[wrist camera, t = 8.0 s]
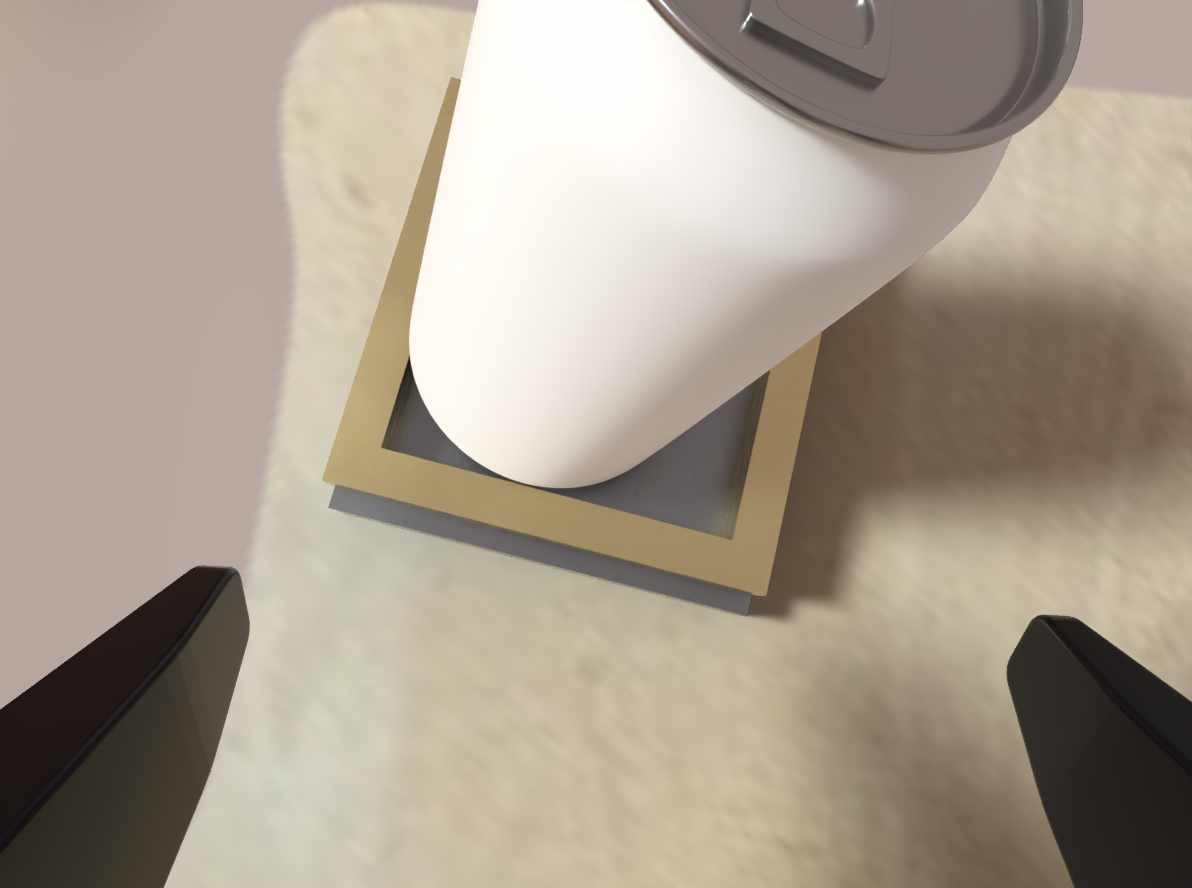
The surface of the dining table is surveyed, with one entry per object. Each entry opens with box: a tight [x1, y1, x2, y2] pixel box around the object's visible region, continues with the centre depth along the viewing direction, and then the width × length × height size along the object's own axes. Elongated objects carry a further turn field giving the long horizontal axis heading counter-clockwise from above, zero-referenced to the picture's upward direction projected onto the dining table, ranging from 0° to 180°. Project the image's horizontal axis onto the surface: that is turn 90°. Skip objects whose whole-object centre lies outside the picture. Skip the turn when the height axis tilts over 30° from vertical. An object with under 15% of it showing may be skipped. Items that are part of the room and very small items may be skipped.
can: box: [409, 0, 1083, 488], centre depth 13 cm, size 6×6×12 cm
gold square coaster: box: [322, 77, 822, 616], centre depth 20 cm, size 11×10×3 cm
